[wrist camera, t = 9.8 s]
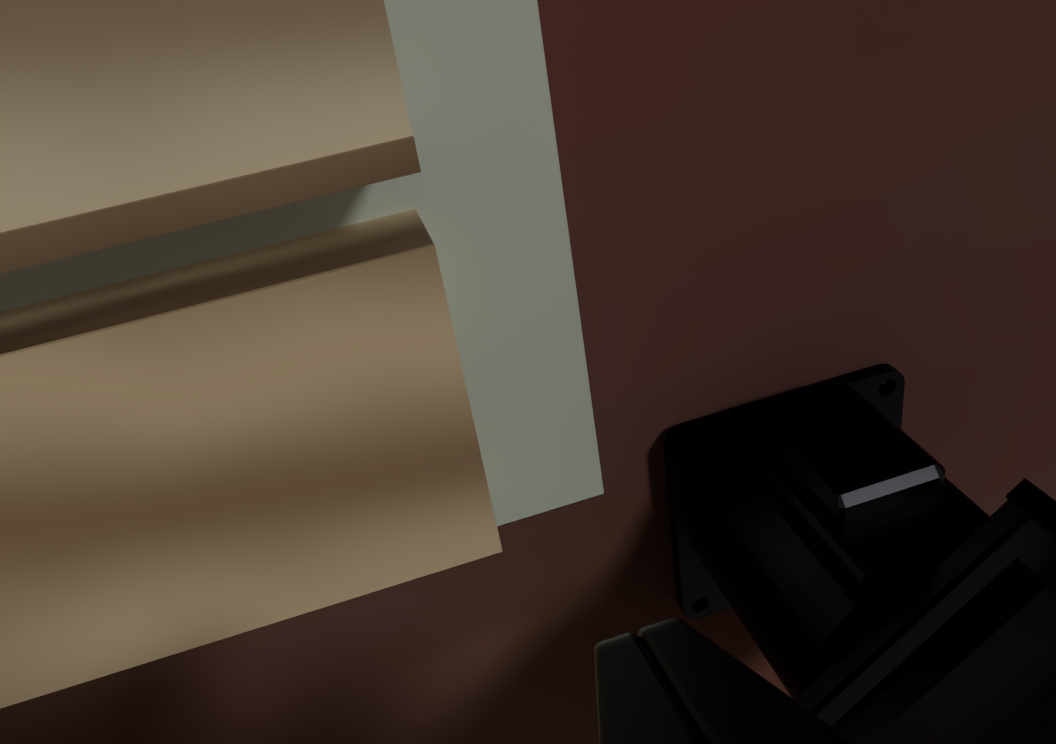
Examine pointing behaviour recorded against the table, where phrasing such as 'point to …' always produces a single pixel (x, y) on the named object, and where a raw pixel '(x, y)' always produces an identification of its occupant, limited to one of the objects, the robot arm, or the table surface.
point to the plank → (186, 115)
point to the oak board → (229, 450)
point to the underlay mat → (447, 242)
